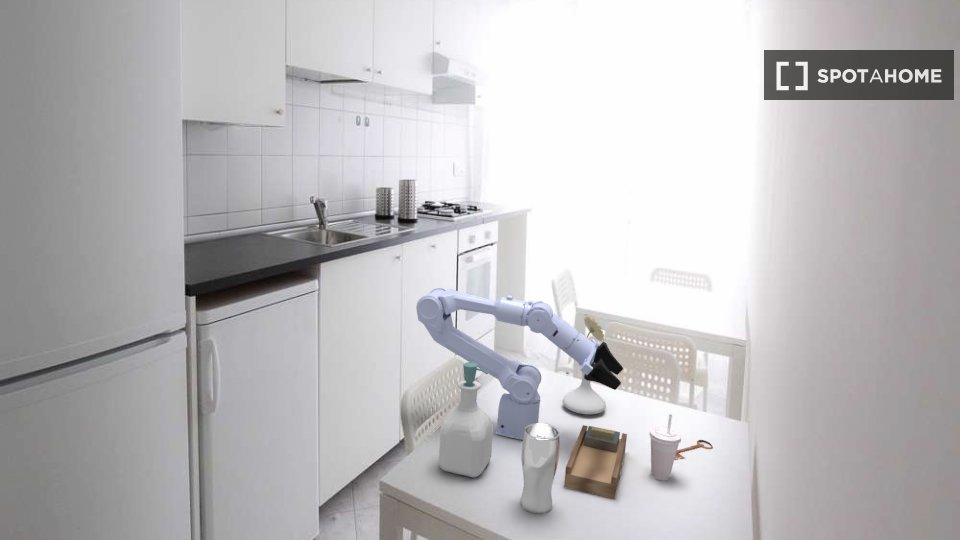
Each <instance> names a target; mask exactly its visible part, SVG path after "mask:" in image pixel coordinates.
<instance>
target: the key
mask: <svg viewBox="0 0 960 540" xmlns="http://www.w3.org/2000/svg"><path fill="white" fill-rule="evenodd" d="M696 443H697V444H694V445H690V446H688V447H687V446H686V447H685V448H681V449H677V452H676V455H675V459H674V461H678V460H684V459H686V457H685V456H683V455H682V454H681V453H685V452H688V451H693V450H697V449H699V448H703V449H705V450H712V449H714V447H713V445H712V443H710V442H709V441H707V440H704V439H697V441H696ZM703 443H704V444H703ZM705 444H707V445H709V446H710V447H708V446H705Z"/></svg>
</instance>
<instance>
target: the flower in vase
mask: <svg viewBox="0 0 960 540" xmlns="http://www.w3.org/2000/svg"><path fill="white" fill-rule="evenodd" d="M583 321H584V325H585V326H586V328H587V330H588V331H589V332H588V333H587V334H586V336H585V337H586V338H588V339H589V336H590V334H591V336H592V337H594V338H595V340H596V341H600V342H605V338H604V337H605V334H604V332H603V330H602V326H601V325H599V323H598V322H597V321H596V319H595V317H591V316H590V315H589V314H588V315H587V316H586V315H584V317H583ZM594 364H595V363H594ZM581 374H582V375H581V382H580V385H579V386H578V387H576V388H575V389H573V390H571V391H569V392H568V393H566V394H565V395H564V396H563V398H562V403H563V406H564V407H565V408H566V409H568V410H569V411H571V412H574V413H577V414H580V415H581V414H582V415H597V414H601V413H602V412H604V410H605V409H606V407H607V405H606V401H604V399H603V398H602V397H601V396H600V394H598V393H597V392H596V391H595V390H594V389H593V388H592V385H591V381H587V380H586V379H585V378H584V375H585V373H583V372H582V371H581Z"/></svg>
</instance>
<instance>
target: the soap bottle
mask: <svg viewBox="0 0 960 540" xmlns="http://www.w3.org/2000/svg"><path fill="white" fill-rule="evenodd" d="M462 365H463V366H462V367H463V378H464V380H461V381H459V382H458V384H457V387H458V388H459V390H460V401H459V404H458V405H456V406H455V407H453V408H452V409H451V410H450V411H448V413H447V415H446V416H445V418H444V419H443V421H442V424H441V425H440V428H439V429H440V430H439V431H440V433H439V434H440V435H439V455H438V463H439V468H441V470H443V471H444V472H448V473H451V474H452V473H453V474H457V475H461V476H465V477H469V478H470V477H471V478H477V477H478V476H480V475H481V474H482V473H483V472H484V470H485V469H486V467H487V465H488V463H490V460H491V458H492V453H493V452H492V449H493V436H494V435H493V434H494V424H493V421H492V419H491V417H490V416H489V414H488V413H487V412H486V411H485V410H484V409H482V408H481V407H480V406H479V405H478V402H477V400H478V399H477V397H478V394H477V393H478V390H480V389H481V386H482V385H481V383H480V382H478V381H476V380H475V379H476V376H477V371H479V372H482V373H484V374H485V375H489V374H488V372H486V371H485V370H483V369H480V368H478V367H477V364H476V363H473V362H468V361H466V362H464V363H463V364H462Z"/></svg>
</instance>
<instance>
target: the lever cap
mask: <svg viewBox="0 0 960 540" xmlns="http://www.w3.org/2000/svg"><path fill="white" fill-rule="evenodd" d="M620 435H621V432H620V431H616V430H612V429H607V428H603V427H602V428H601V427H596V426H592V425H588V426H587V432H586V435H585V438H584V446H588V447H593V448H598V449H602V450H607V451H612V452H616V451H617V447H618V443H619V439H620Z"/></svg>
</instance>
